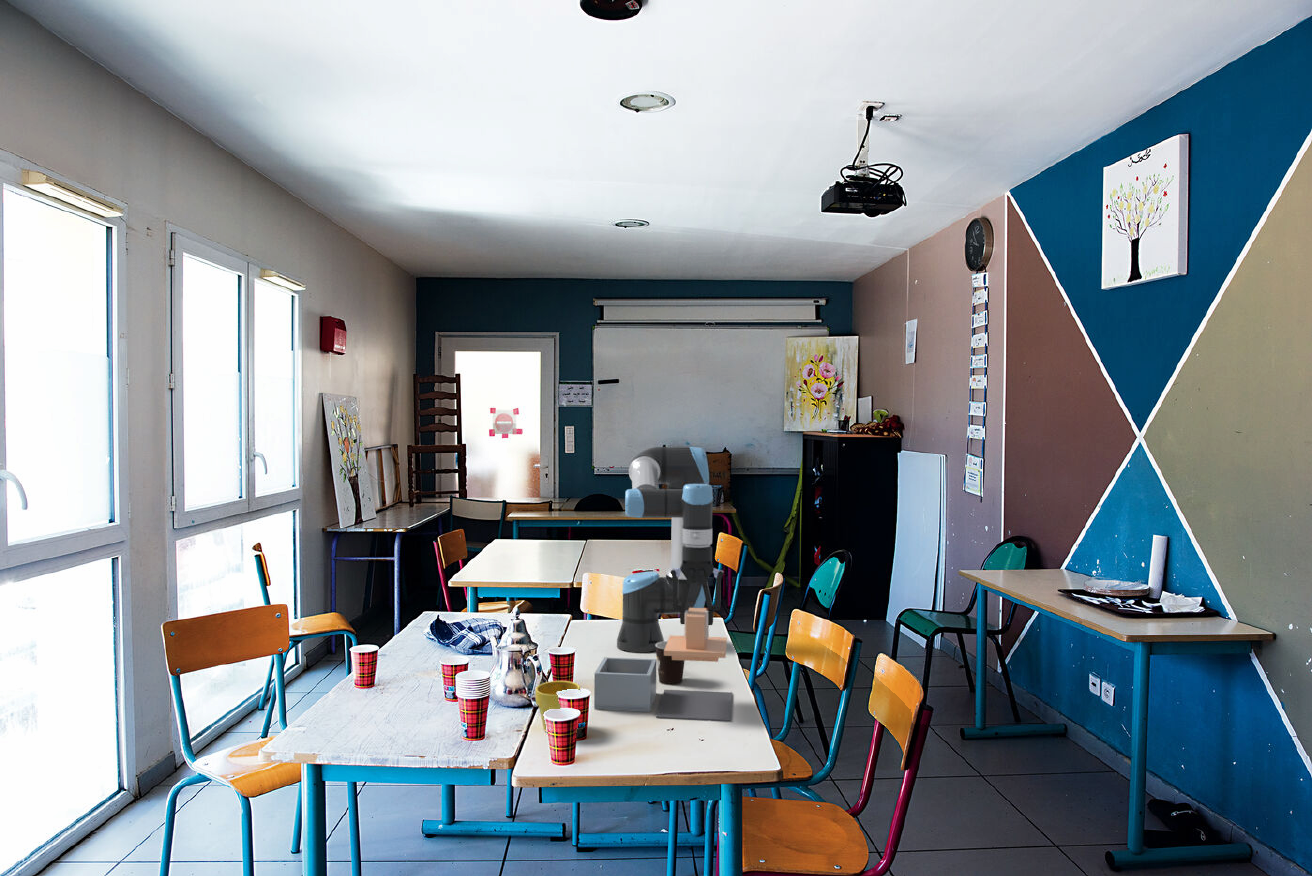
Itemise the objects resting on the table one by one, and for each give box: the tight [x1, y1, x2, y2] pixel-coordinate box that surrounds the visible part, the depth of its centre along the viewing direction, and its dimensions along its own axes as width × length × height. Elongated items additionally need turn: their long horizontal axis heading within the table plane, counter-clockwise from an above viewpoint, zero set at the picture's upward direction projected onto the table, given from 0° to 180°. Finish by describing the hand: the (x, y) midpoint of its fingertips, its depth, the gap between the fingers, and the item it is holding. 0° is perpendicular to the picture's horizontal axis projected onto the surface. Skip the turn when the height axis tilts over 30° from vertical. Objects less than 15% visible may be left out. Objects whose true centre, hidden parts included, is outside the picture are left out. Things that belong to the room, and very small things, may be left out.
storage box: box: [593, 656, 657, 713], centre depth 206 cm, size 14×14×9 cm
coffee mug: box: [655, 640, 686, 686], centre depth 224 cm, size 12×9×10 cm
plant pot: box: [535, 680, 581, 730], centre depth 187 cm, size 10×10×10 cm
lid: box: [664, 607, 728, 663], centre depth 203 cm, size 15×15×11 cm
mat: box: [655, 689, 733, 722], centre depth 204 cm, size 20×18×1 cm
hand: (696, 637), depth 203 cm, fingers closed on lid, 4 cm apart
